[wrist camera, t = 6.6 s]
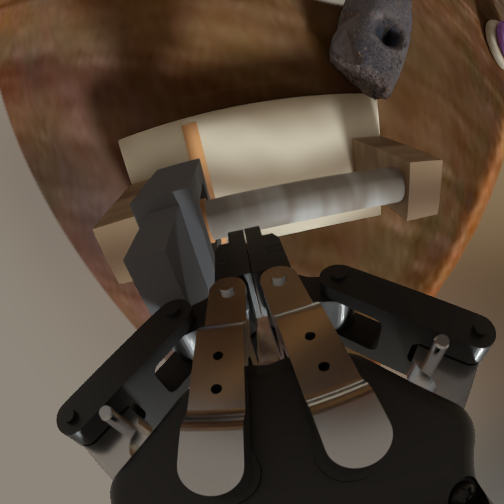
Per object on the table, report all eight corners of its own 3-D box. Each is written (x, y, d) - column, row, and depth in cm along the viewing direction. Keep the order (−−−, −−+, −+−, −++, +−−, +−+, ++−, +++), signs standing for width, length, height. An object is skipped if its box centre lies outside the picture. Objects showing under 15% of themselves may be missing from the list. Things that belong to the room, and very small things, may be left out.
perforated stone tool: (348, -37, 12) (384, -63, 6) (394, -11, 13) (436, -26, 7) (307, 78, 19) (342, 71, 13) (359, 101, 20) (405, 107, 14)
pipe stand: (122, 138, 20) (67, 165, 11) (369, 93, 20) (441, 100, 11) (163, 255, 26) (144, 326, 18) (374, 209, 26) (429, 260, 18)
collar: (157, 169, 17) (98, 247, 8) (199, 158, 17) (178, 226, 8) (183, 248, 20) (165, 361, 12) (221, 240, 20) (227, 353, 12)
